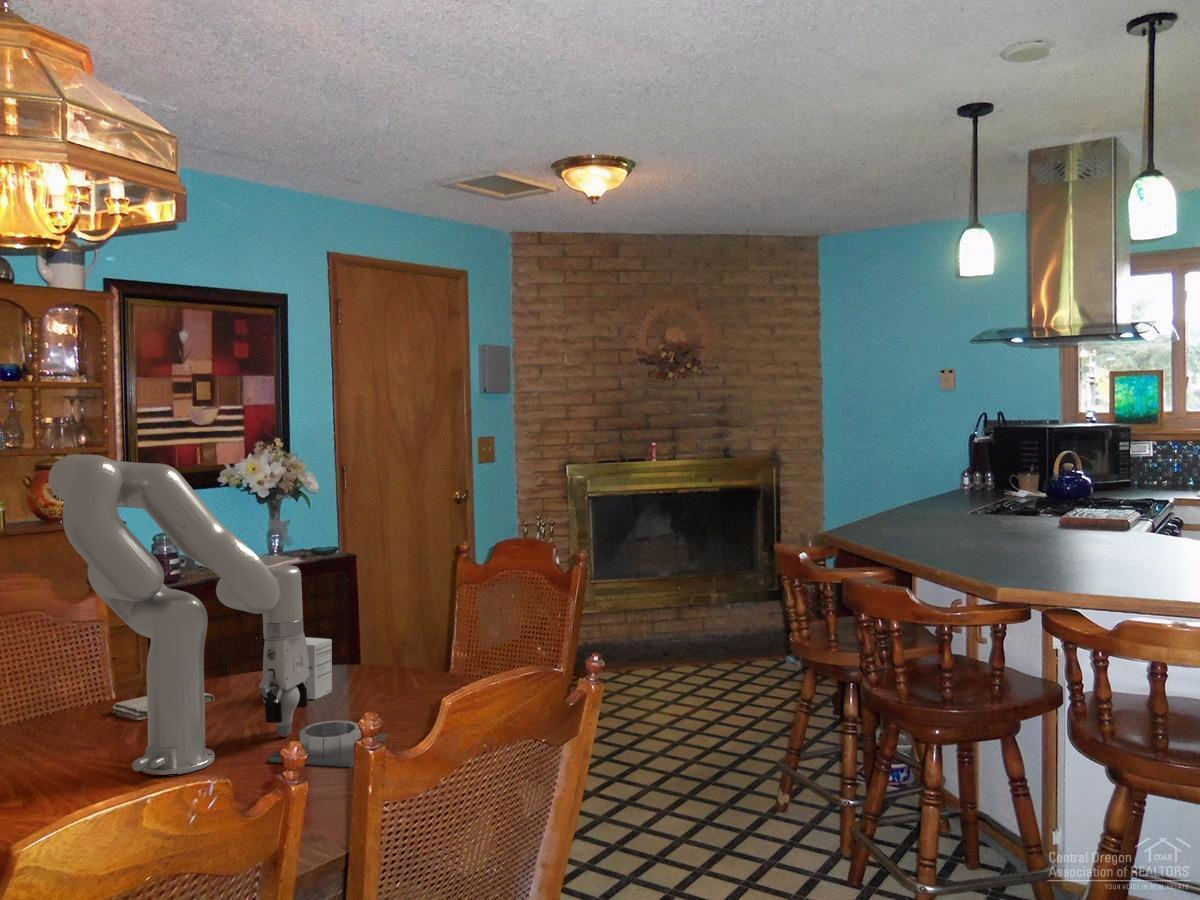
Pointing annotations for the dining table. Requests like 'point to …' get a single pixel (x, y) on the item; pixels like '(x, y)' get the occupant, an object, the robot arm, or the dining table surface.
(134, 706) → the washcloth
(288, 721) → the lightbulb
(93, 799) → the dining table surface
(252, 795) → the dining table surface
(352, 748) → the duct collar
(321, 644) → the supplement box
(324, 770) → the dining table surface
